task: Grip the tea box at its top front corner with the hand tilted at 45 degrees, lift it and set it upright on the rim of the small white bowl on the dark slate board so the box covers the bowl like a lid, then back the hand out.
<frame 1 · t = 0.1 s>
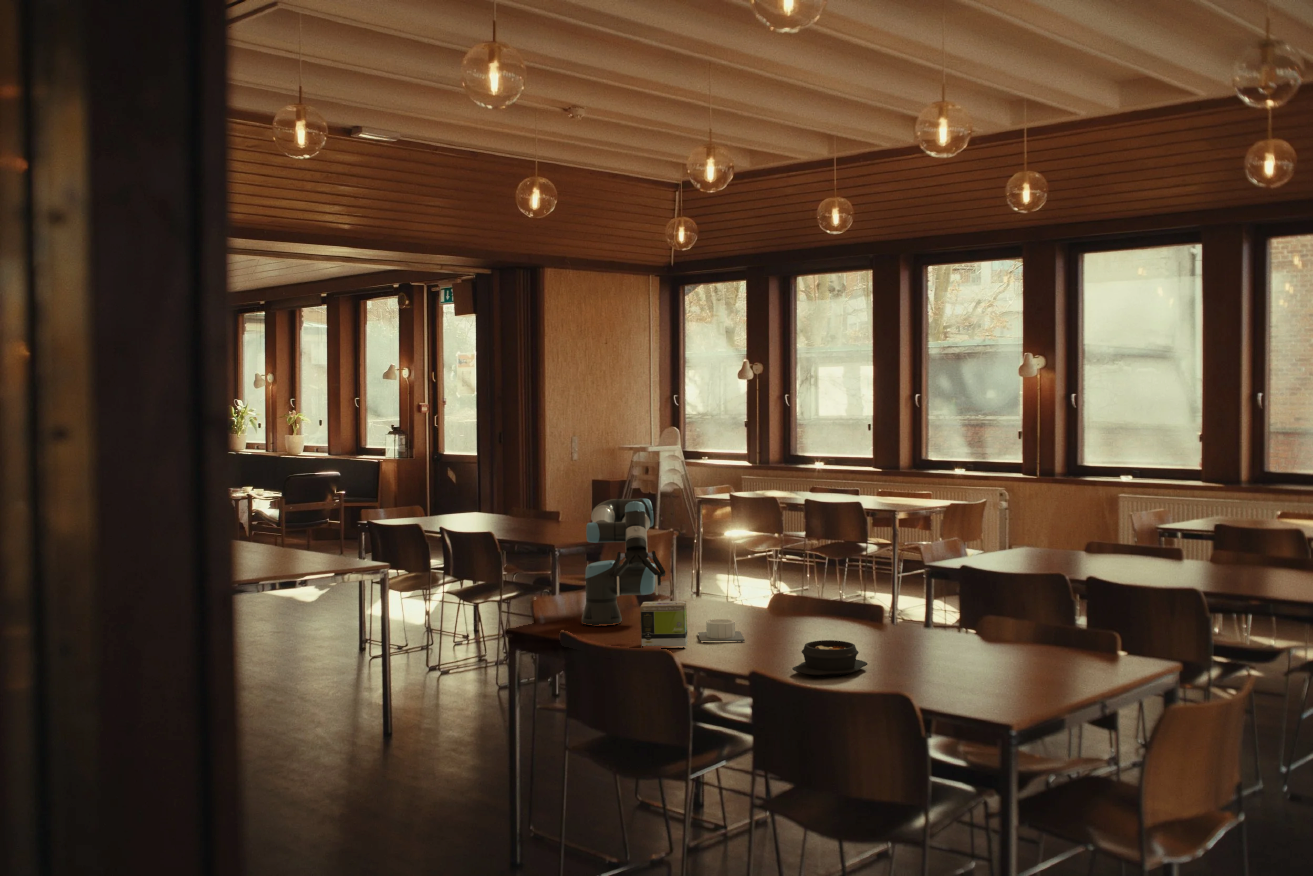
hand: (637, 594, 402), 15 cm above the table, tool tilted 35°, fingers open, 13 cm apart
bowl: (720, 638, 397), on the table
tea box: (664, 647, 385), on the table
casserole: (830, 673, 342), on the table
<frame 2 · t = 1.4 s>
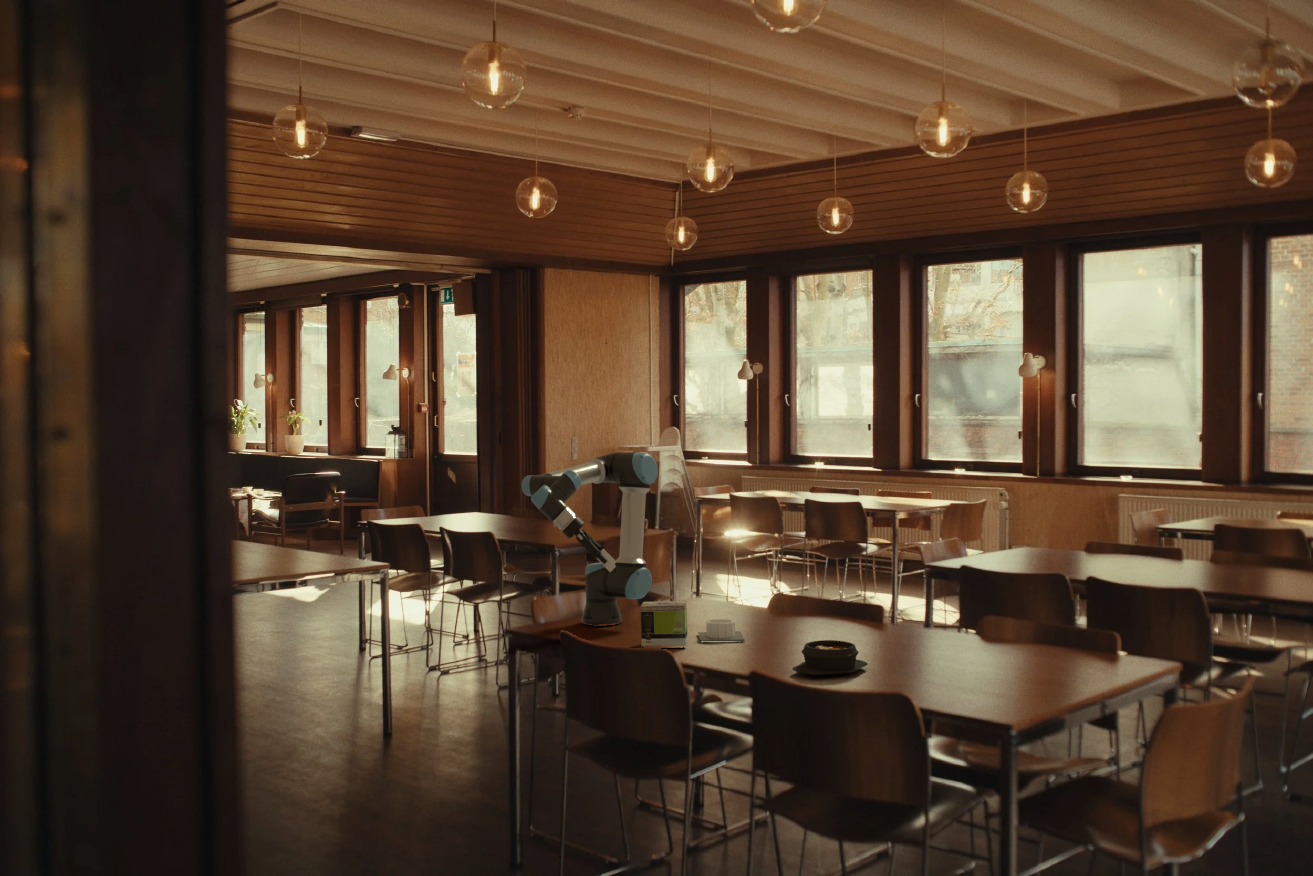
hand: (613, 567, 388), 27 cm above the table, tool tilted 45°, fingers open, 13 cm apart
nothing on the table moved.
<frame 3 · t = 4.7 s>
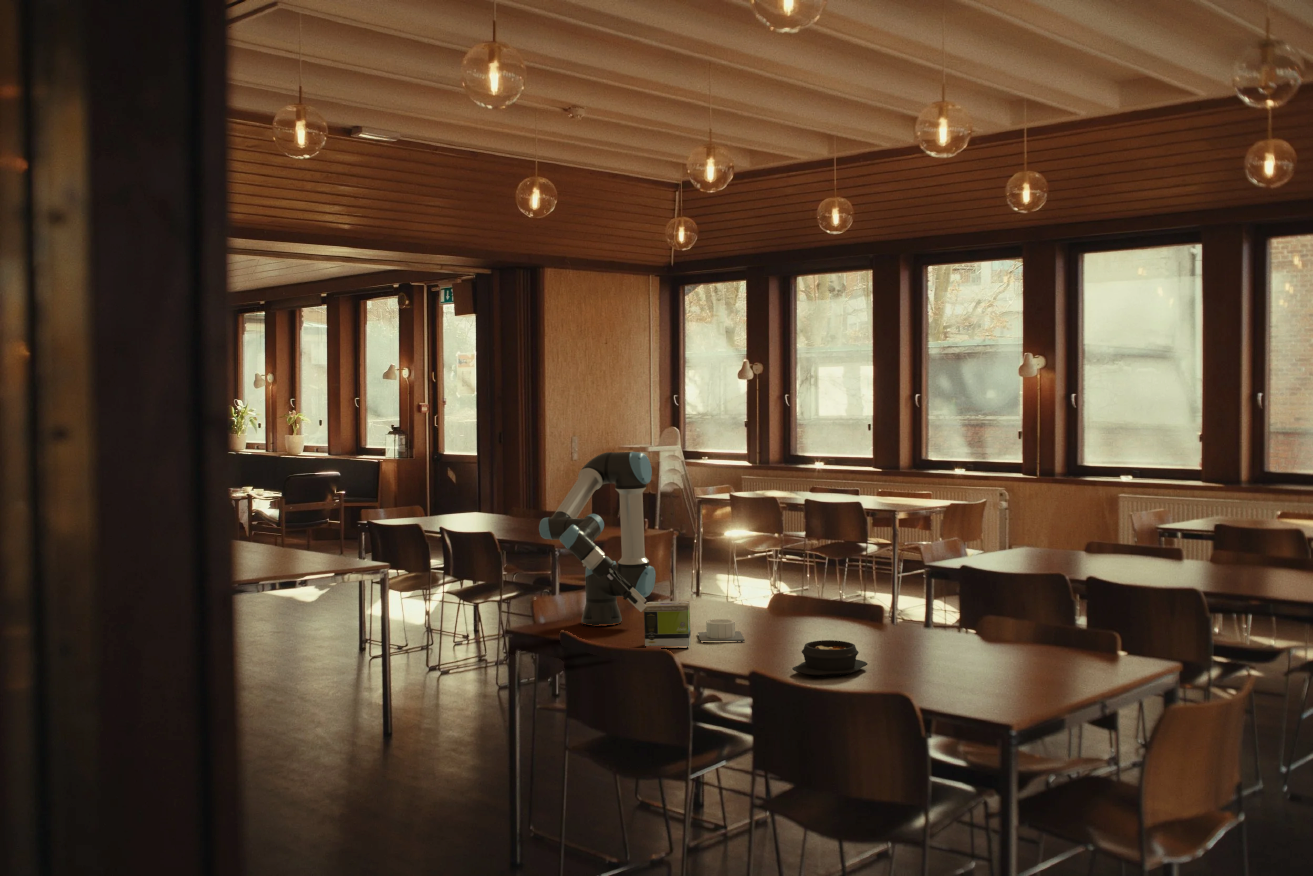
hand: (644, 606, 383), 14 cm above the table, tool tilted 45°, fingers open, 13 cm apart
tea box: (667, 647, 385), on the table, touching gripper
everything else where it was.
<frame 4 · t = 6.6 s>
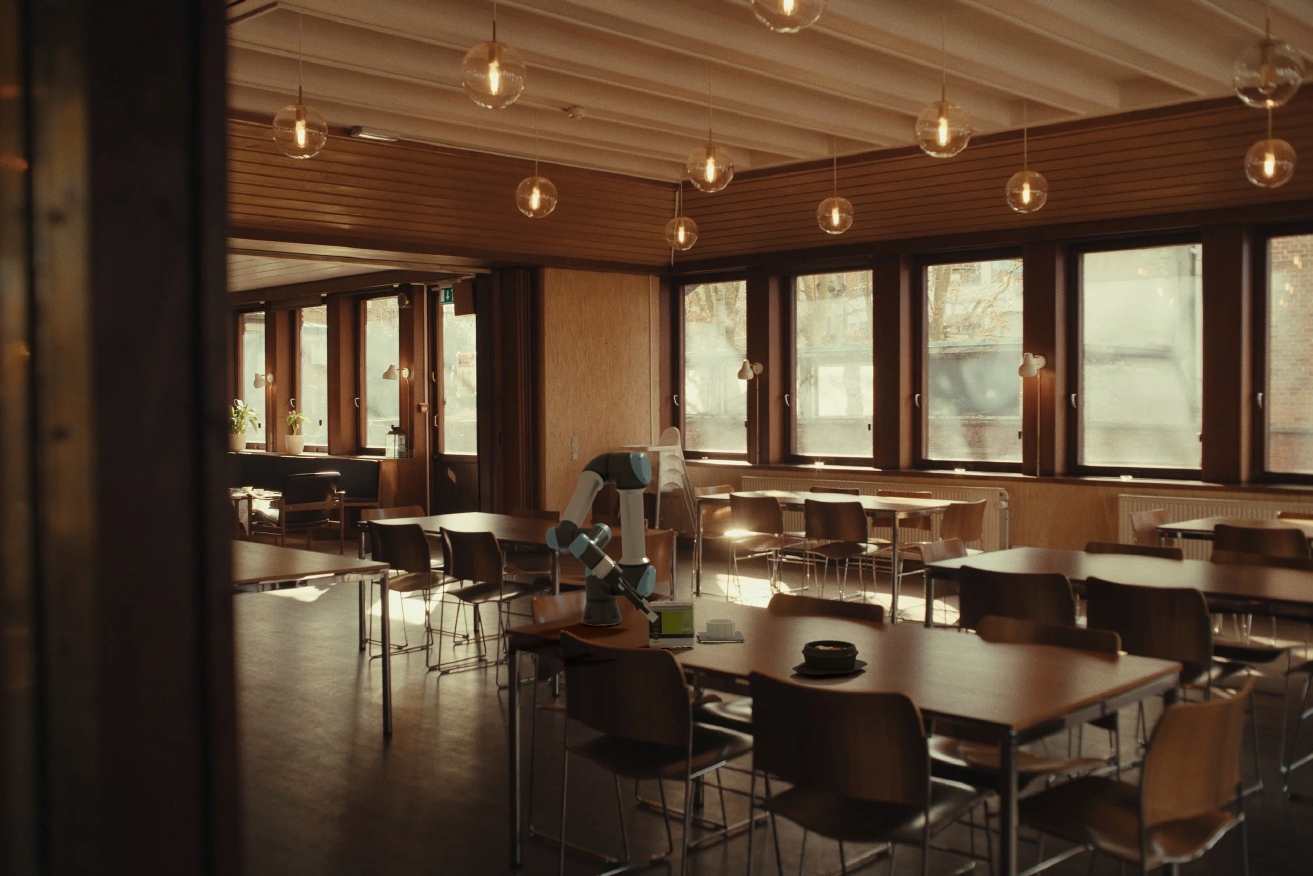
hand: (655, 617, 385), 10 cm above the table, tool tilted 45°, fingers closed on tea box, 10 cm apart
tea box: (672, 647, 385), on the table, touching gripper
everything else where it was.
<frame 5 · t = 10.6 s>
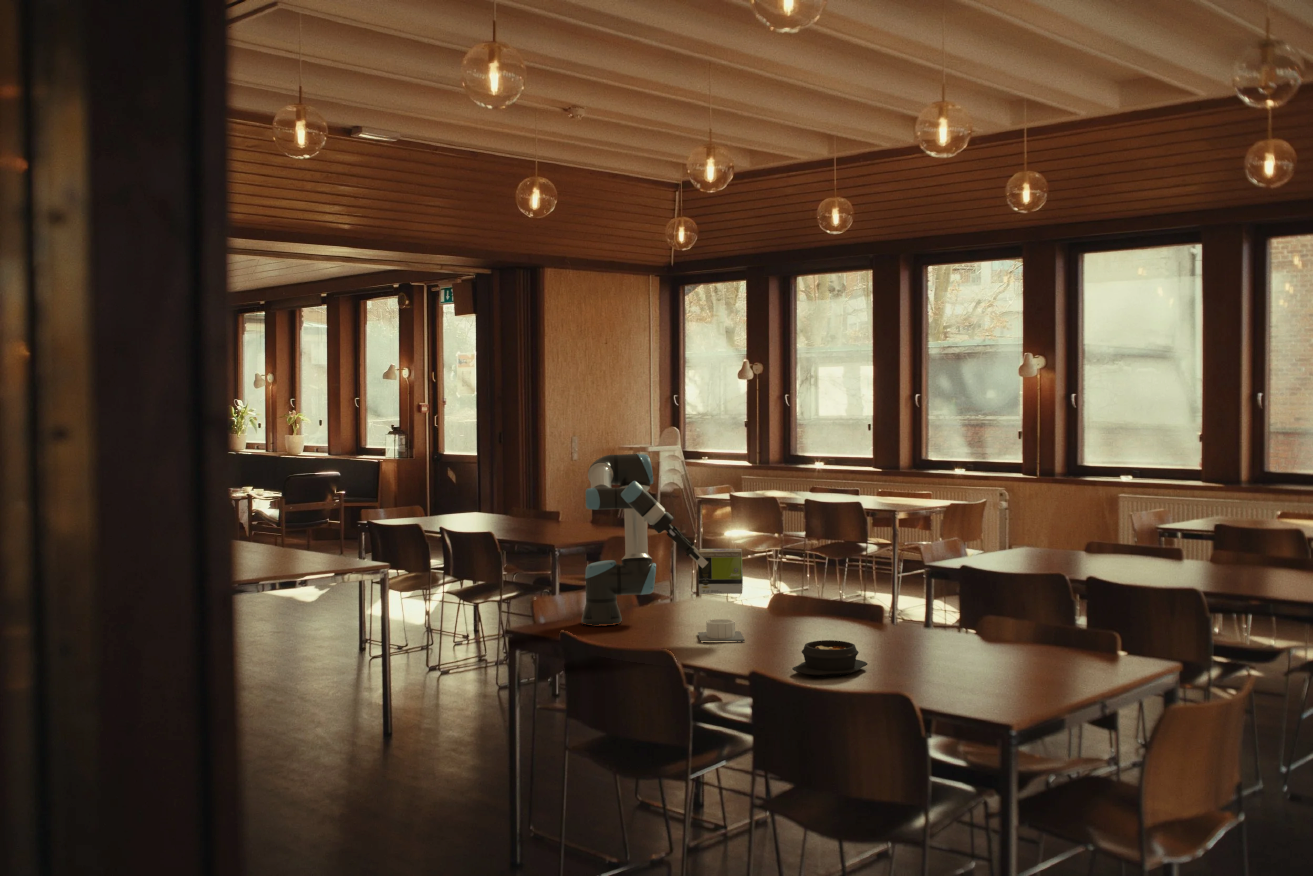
hand: (704, 563, 394), 27 cm above the table, tool tilted 45°, fingers closed on tea box, 10 cm apart
tea box: (720, 592, 393), point 16 cm above the table, touching gripper
everything else where it was.
when the fingers open (17 cm above the table, at t = 14.3 s): tea box stays where it is, resting on bowl.
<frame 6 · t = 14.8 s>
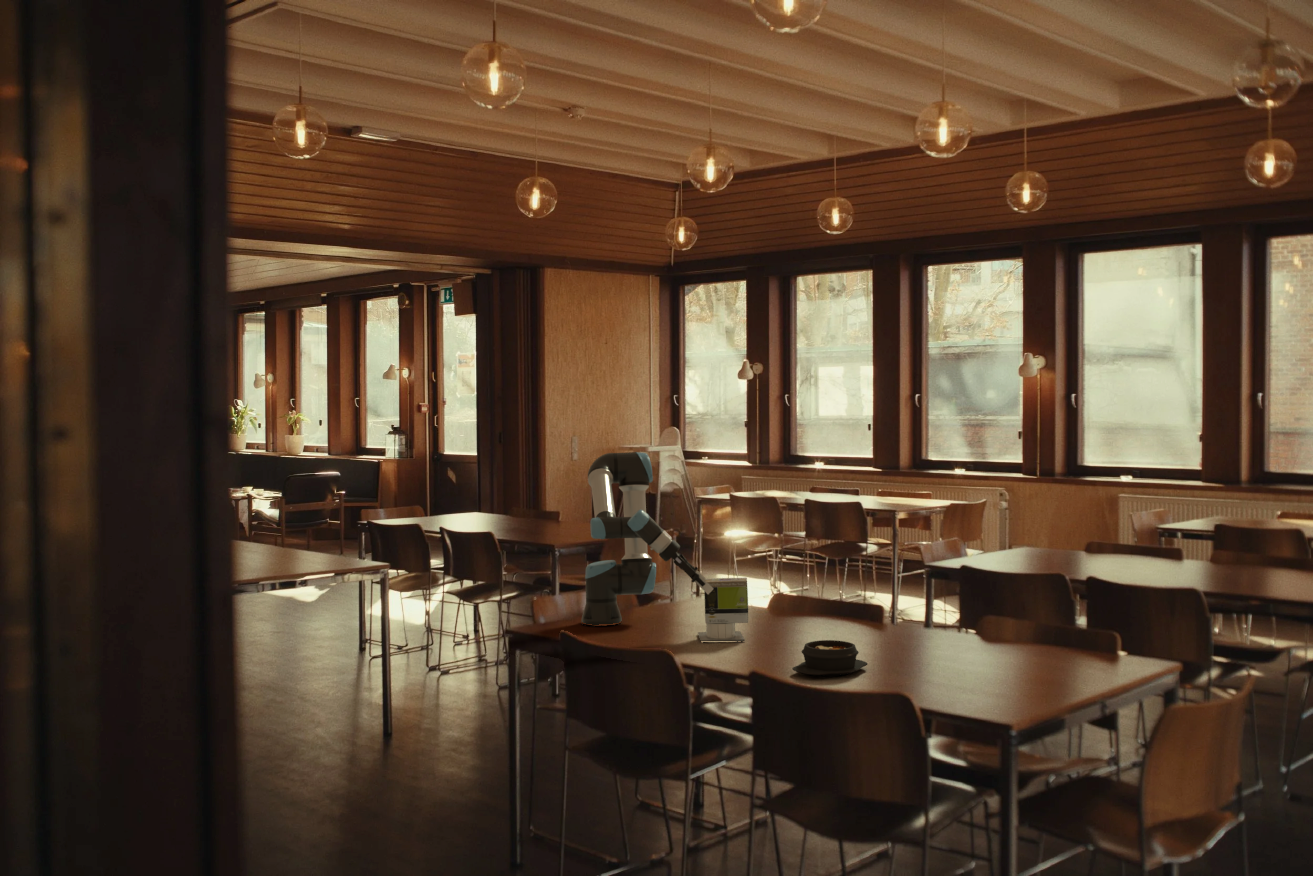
hand: (709, 588, 396), 17 cm above the table, tool tilted 45°, fingers open, 13 cm apart
tea box: (726, 622, 396), point 6 cm above the table, touching bowl
everything else where it was.
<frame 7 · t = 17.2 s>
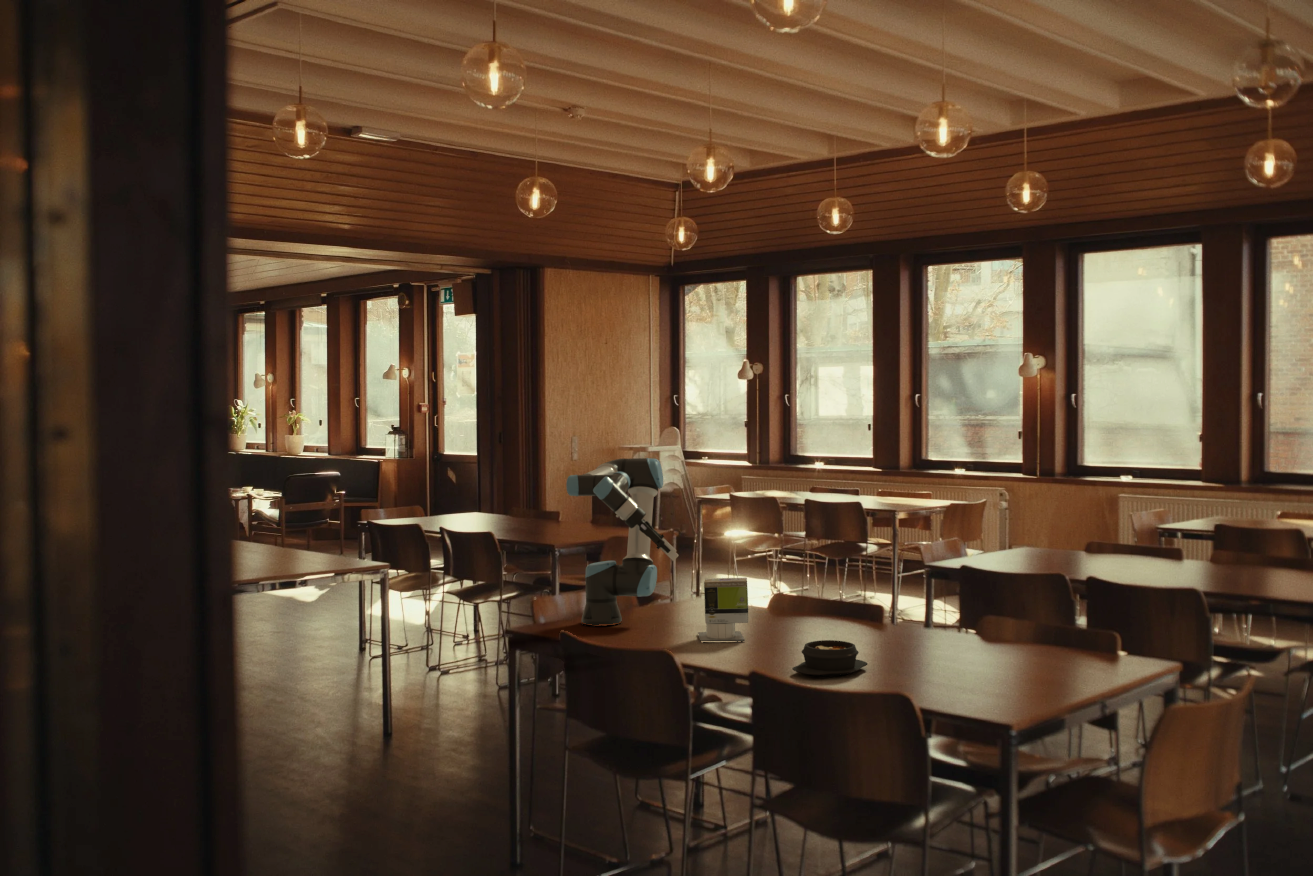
hand: (675, 555, 396), 29 cm above the table, tool tilted 45°, fingers open, 13 cm apart
nothing on the table moved.
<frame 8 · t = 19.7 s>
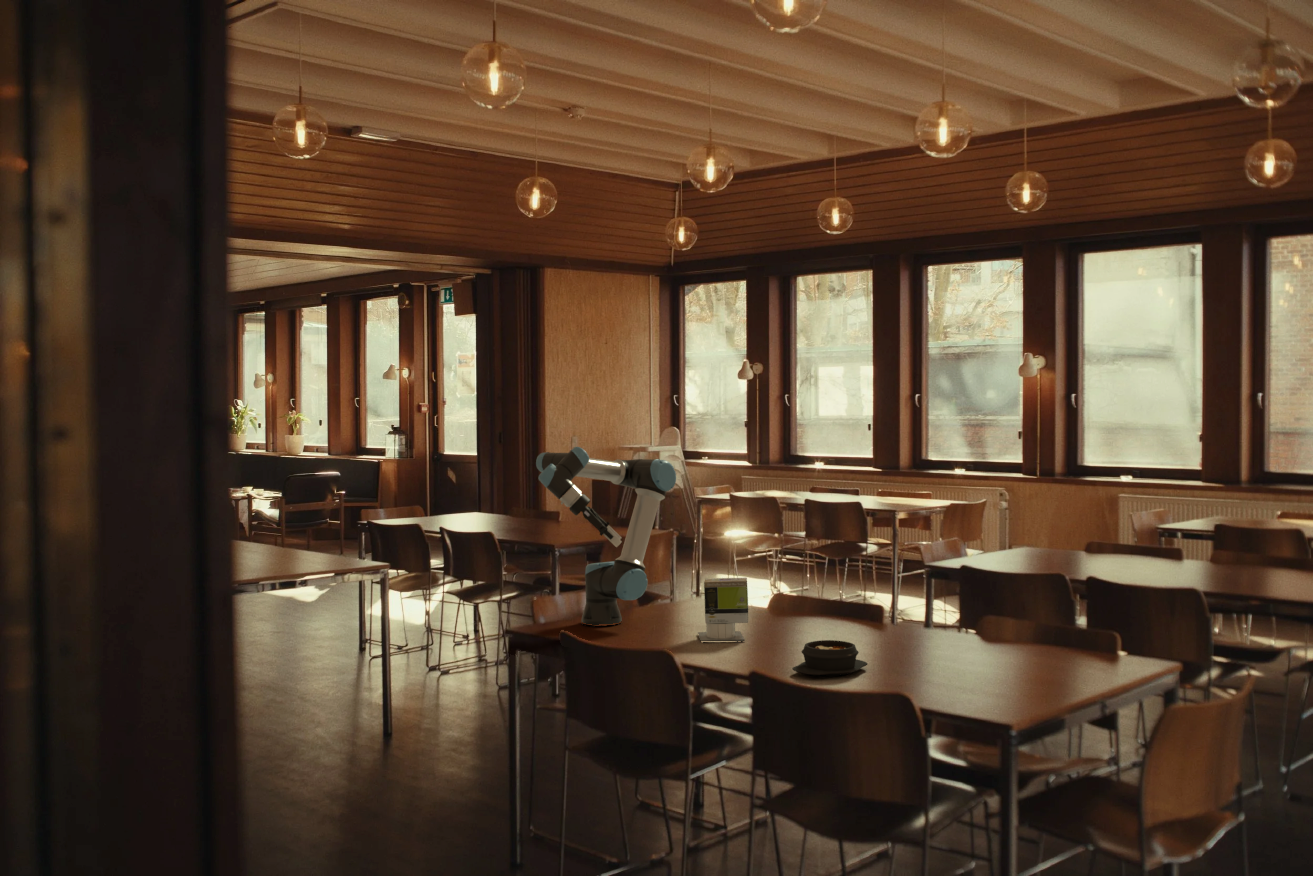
hand: (619, 542, 400), 34 cm above the table, tool tilted 45°, fingers open, 13 cm apart
nothing on the table moved.
at the end: tea box inside the target area on the bowl (2.2 cm from its centre), point 5.8 cm above the bowl's base; tea box tilted 0°; the gripper is holding nothing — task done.
